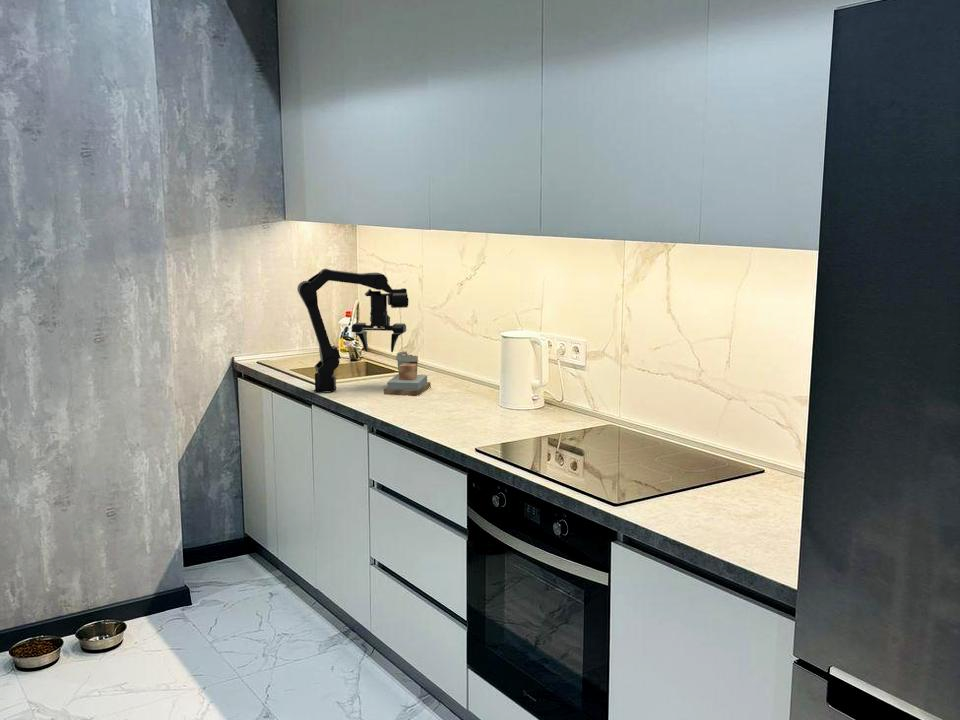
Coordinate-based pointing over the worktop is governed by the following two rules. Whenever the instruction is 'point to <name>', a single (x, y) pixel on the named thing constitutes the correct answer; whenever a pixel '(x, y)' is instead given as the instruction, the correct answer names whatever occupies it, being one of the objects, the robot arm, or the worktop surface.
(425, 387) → the walnut slab
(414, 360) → the food container
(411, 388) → the slate grey slab
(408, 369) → the terracotta block
